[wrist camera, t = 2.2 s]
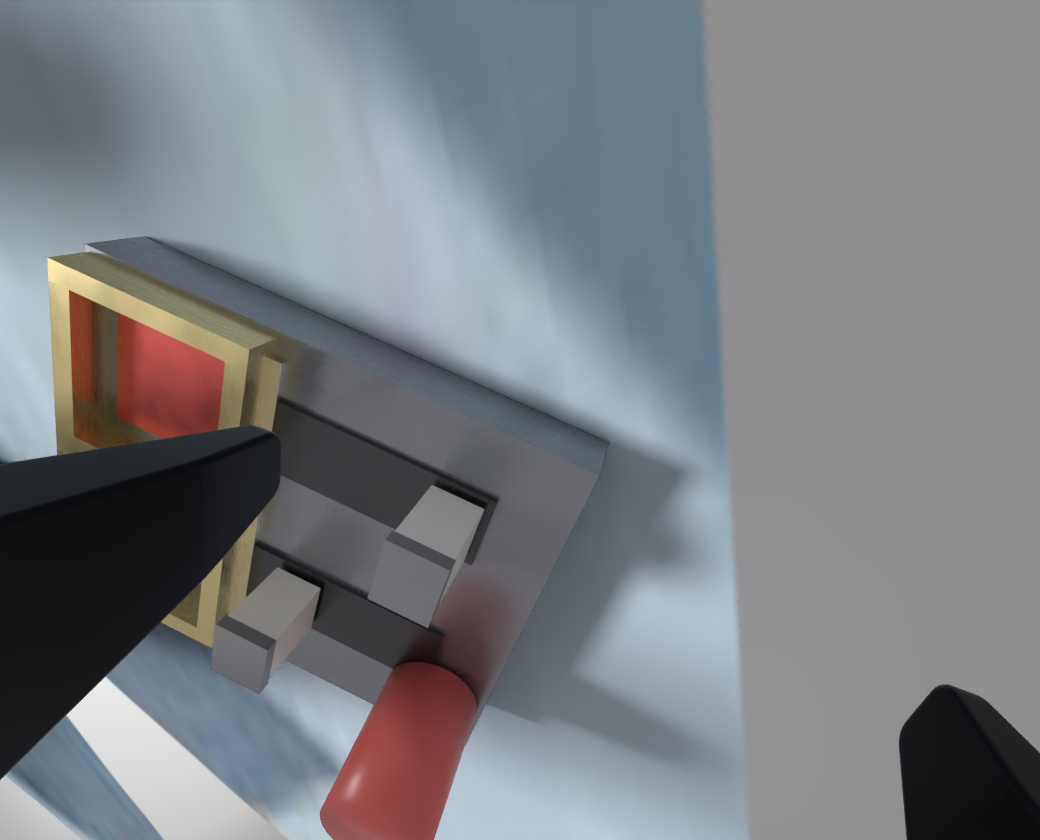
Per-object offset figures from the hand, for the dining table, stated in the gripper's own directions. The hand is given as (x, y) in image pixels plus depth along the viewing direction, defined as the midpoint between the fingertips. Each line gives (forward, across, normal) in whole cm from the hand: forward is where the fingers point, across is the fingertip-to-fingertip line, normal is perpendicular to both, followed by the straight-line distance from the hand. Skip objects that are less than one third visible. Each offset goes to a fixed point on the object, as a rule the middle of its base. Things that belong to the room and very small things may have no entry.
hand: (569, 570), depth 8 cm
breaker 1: (+9, +10, +14) cm, 20 cm away
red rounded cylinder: (+10, +4, +17) cm, 20 cm away
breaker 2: (+9, +5, +8) cm, 13 cm away
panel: (+12, +11, +11) cm, 20 cm away
